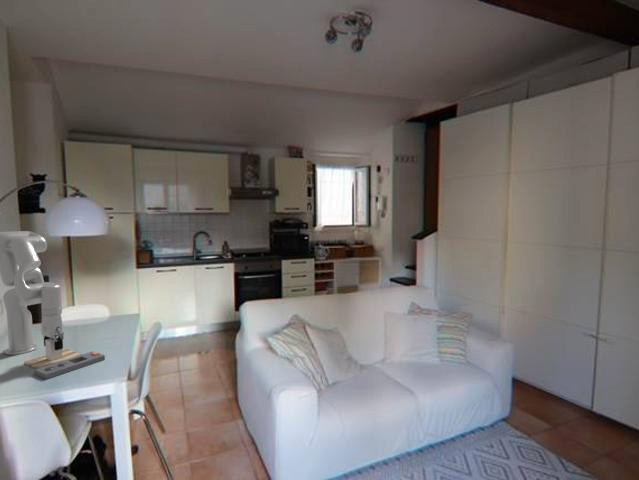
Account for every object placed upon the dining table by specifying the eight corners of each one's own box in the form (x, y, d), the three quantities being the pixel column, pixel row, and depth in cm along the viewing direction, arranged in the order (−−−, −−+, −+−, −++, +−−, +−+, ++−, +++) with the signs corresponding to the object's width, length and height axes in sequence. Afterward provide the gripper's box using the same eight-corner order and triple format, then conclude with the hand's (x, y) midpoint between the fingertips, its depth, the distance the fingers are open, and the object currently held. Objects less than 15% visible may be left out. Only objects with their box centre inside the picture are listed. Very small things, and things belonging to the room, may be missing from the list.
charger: (46, 358, 170) (45, 338, 170) (57, 355, 174) (56, 335, 174) (51, 360, 168) (50, 340, 167) (62, 357, 172) (61, 337, 171)
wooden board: (24, 363, 167) (24, 361, 167) (67, 350, 183) (67, 349, 182) (39, 370, 160) (39, 368, 160) (82, 356, 176) (82, 354, 176)
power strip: (34, 374, 156) (34, 368, 156) (92, 355, 177) (92, 350, 177) (46, 379, 151) (46, 373, 151) (104, 359, 172) (104, 354, 172)
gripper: (33, 310, 171) (35, 346, 172) (52, 316, 162) (53, 353, 163) (51, 307, 177) (53, 341, 179) (70, 312, 169) (72, 348, 170)
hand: (53, 347), depth 171 cm, fingers open, 9 cm apart
